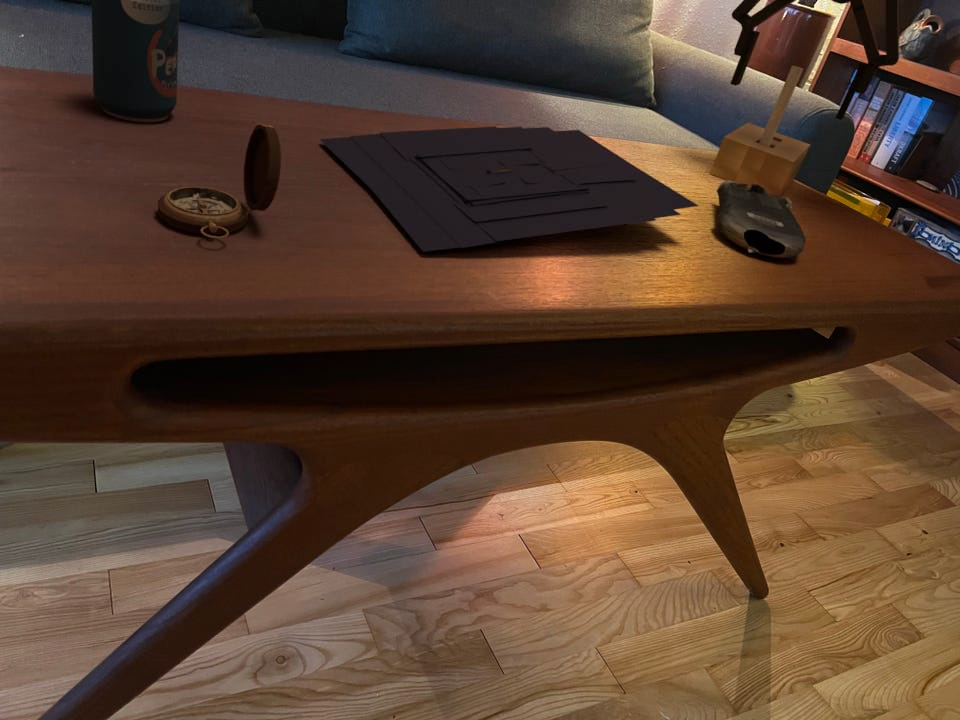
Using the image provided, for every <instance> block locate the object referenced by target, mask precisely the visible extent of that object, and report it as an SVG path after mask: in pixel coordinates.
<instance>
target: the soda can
mask: <svg viewBox="0 0 960 720" xmlns="http://www.w3.org/2000/svg"><path fill="white" fill-rule="evenodd" d="M90 4H91V36H92V37H91V38H92V39H91V41H92V42H91V43H92V44H91V47H92V48H91V49H92V87H93V88H92V90H93V91H92V92H93V95H94V97H95V99H96V101H97V103H98V104H99V106H100V108H101V109H102V110H103V112H104V113H106V114H107V115H109V116H112V117H114V118H117V119H121V120H124V121H129V122H136V123H137V122H138V123H156V122H162V121H164V120H167V119H168V117H169V116H170V114H171V113H172V112H173V110H174V109H175V107H176V106H177V97H178V95H177V94H178V67H179V66H178V64H179V62H178V61H179V33H180V31H179V30H180V26H179V25H180V0H91V3H90Z"/></svg>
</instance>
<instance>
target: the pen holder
mask: <svg viewBox="0 0 960 720" xmlns="http://www.w3.org/2000/svg"><path fill="white" fill-rule="evenodd" d="M764 130H765V127H762V126H759V125H756V124H753V123H750V122H747V123H745V124H743V125H742V126H740V127H738V128H737V129H735V130H733V131H732V132H730V133H728V134H727V135H725V136H724V137H723V139H722V141H721V144H720V146H719V149H718V152H717V154H716V157H715V159H714V162H713V163H712V165H711V168H710V171H709V174H710V175H713V176H715V177H717V178H720V179H723V180H725V181H727V180H730V181H732V182H736V183H745V184H748V186H746V187H745V188H748V189H749V188H751V186H752V184H758V185H760V186H762V187H764V188H766V189H767V193H769V194H773V195H777V196H780V197H781V195H782V194H783V193H784V192H785V191H786V190H787V188H788V187H789V186H790V185H791V183H793V182H794V180H795V179H796V176H797V175H798V172H799V171H800V168H801V167H802V164H803V161H804V160H805V157H806V156H807V153H808V151H809V149H810V147H811V144H810V143H807V142H804V141H801V140H798V139H795V138H793V137H790V136H787V135H784V134H780V133H778V132H776V133H775V135H774V137H773V140H772V142H771V144H770V147H767V146H764V145H762V144H759V142H760V140H761V137H762V135H763V133H764Z"/></svg>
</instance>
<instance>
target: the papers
mask: <svg viewBox="0 0 960 720" xmlns="http://www.w3.org/2000/svg"><path fill="white" fill-rule="evenodd" d="M318 140H319V141H320V142H321V143H322V144H323V145H324V146H326V148H327V149H328V150H329V151H331V152H332V154H334V155H335V156H336V157H337V158H338V159H339V160H340V161H341V162H342V163H343V164H344V165H345V166H347V168H349V169H350V171H352V172H353V173H354V174H355V175H356V176H357V177H358V178H359V179H360V180H361V181H362V182H363V183H364V184H365V185H366V186H367V187H369V189H370V190H371V191H372V192H373V193H374V195H375V196H376V197H377V198H378V200H379V201H380V202H381V203H382V204H383V205H384V207H385V208H386V209H387V210H388V212H390V214H391V215H392V216H393V217H394V219H395V220H396V221H397V222H398V223H399V225H400V226H401V227H402V228H403V229H404V231H405V232H406V233H407V234H408V236H409V237H410V238H411V239H412V240H413V241H414V243H415V244H416V245H417V246H418V248H420V250H421V251H422V252H423V253H424V252H432V251H440V250H451V249H459V248H461V249H463V248H470V247H477V246H483V245H489V244H495V243H496V244H497V243H501V242H503V241H509V240H510V241H511V240H516V239H523V238H532V237H538V236H547V235H553V234H561V233H568V232H576V231H582V230H590V229H598V228H604V227H613V226H629V225H635V224H636V225H637V224H643V223H648V222H656V221H657V219H662V218H669V217H674V216H682V214H681V213H680V212H678V211H677V210H681V209H688V208H694V207H695V208H696V207H699V204H697V203H695V202H693V201H692V200H691V199H690V198H687V197H686V196H684V195H683V194H681V193H679V192H677V191H676V190H674V189H672V188H671V187H669V186H668V185H666V184H664V183H663V182H662V181H659V180H658V179H656V178H655V177H653V176H652V175H650V174H648V173H647V172H645V171H644V170H642V169H640V168H638V167H637V166H635V165H634V164H633V163H631V162H629V161H628V160H626V159H624V158H623V157H621V156H620V155H618V154H617V153H615V152H614V151H612V150H610V149H609V148H607V147H606V146H604V145H603V144H601V143H600V142H598V141H597V140H595V139H594V138H592V137H590V136H589V135H587V134H586V133H584V132H583V131H581V130H579V129H572V130H554V129H552V128H550V127H548V126H547V127H545V126H544V127H543V126H542V127H522V126H510V127H509V126H508V127H507V126H506V127H497V126H479V127H462V128H461V127H459V128H458V127H457V128H444V129H443V128H441V129H440V128H439V129H423V130H407V131H406V130H405V131H388V132H387V131H385V132H379V133H372V134H371V133H370V134H359V135H349V136H345V137H331V138H319V139H318Z"/></svg>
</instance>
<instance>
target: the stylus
mask: <svg viewBox="0 0 960 720" xmlns="http://www.w3.org/2000/svg"><path fill="white" fill-rule="evenodd" d="M803 71H804V68H803V67H800V66H797V65H791V67H790V70H789V72H788V74H787V77H786V80H785V82H784V84H783V86H782V89H781V90H780V93H779V96H778V97H777V100H776V103H775V105H774V107H773V109H772V112H771V114H770V116H769V119H768V122H767V124H766V125H765V127H764V129H765V130H764V133H763V135H762V137H761V140H760V142H759V144H762V145H764V146H767V147H770V144H771V142H772V140H773V137H774V135H775V133H777V130H778V128H779V126H780V123H781V121H782V119H783V117H784V115H785V112H786V110H787V108H788V106H789V103H790V100H791V98H792V97H793V94H794V91H795V89H796V87H797V85H798V82H799V81H800V78H801V75H802V73H803Z"/></svg>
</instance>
